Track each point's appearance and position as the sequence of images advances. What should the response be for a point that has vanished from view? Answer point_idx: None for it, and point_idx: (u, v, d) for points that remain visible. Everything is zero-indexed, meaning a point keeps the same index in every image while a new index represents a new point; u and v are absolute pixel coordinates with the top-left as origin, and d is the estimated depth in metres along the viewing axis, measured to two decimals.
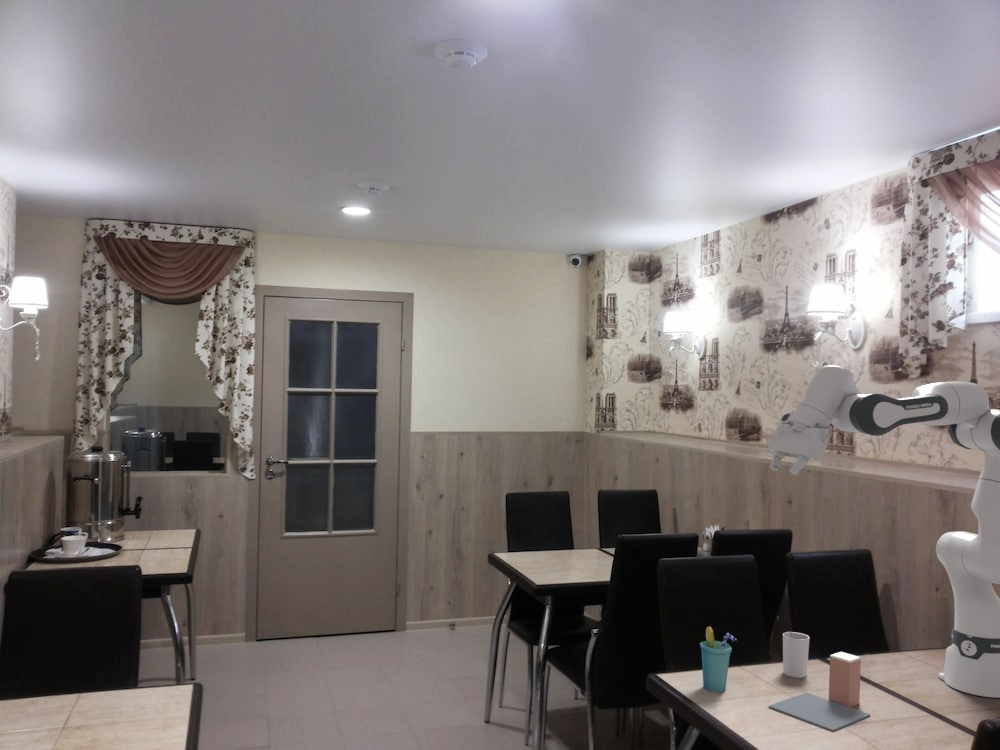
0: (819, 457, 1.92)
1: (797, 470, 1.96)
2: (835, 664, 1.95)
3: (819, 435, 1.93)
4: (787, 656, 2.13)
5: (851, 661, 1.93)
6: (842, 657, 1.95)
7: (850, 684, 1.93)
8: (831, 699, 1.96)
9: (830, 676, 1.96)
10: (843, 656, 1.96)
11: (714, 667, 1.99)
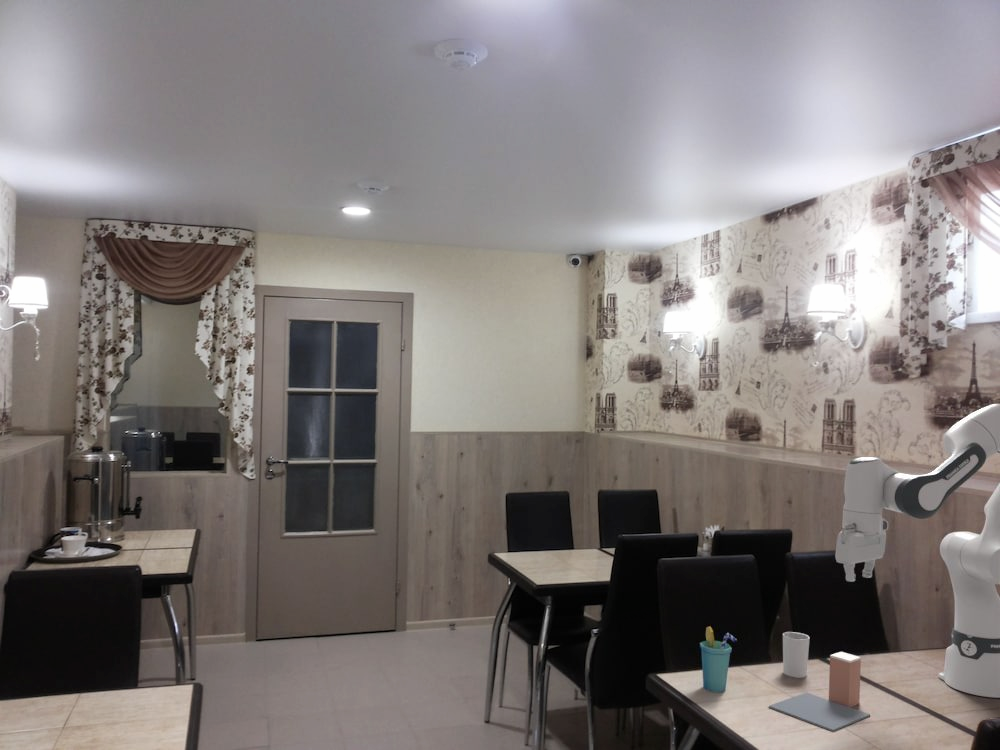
0: (846, 560, 1.93)
1: (850, 577, 1.97)
2: (835, 664, 1.95)
3: (838, 539, 1.95)
4: (787, 656, 2.13)
5: (851, 661, 1.93)
6: (842, 657, 1.95)
7: (850, 684, 1.93)
8: (831, 699, 1.96)
9: (830, 676, 1.96)
10: (843, 656, 1.96)
11: (714, 667, 1.99)
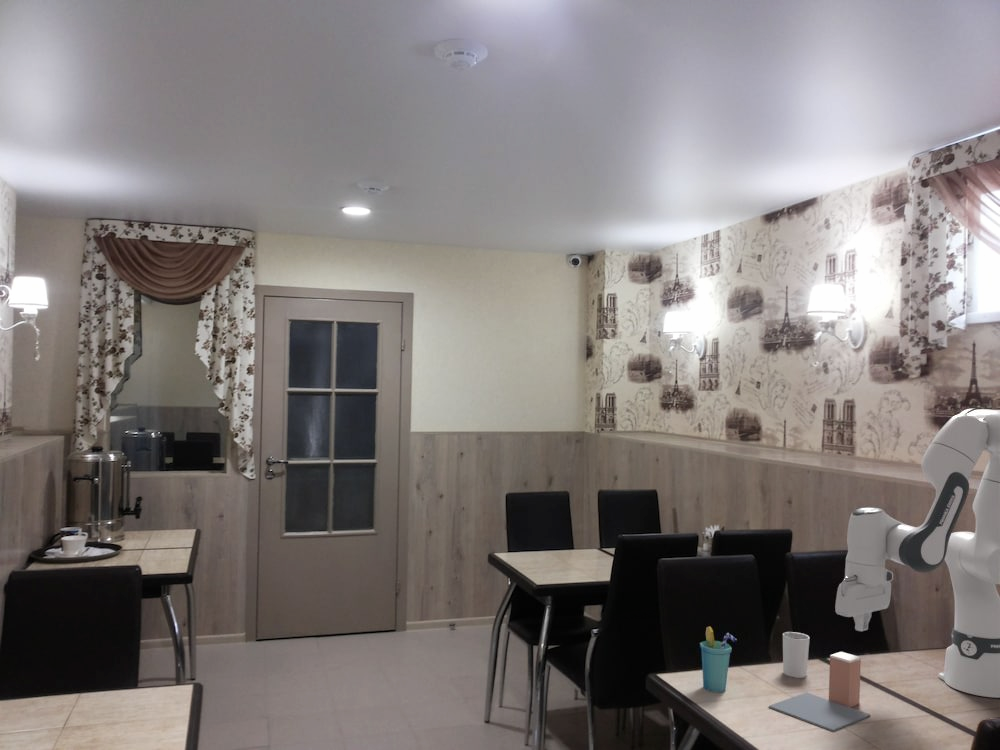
0: (846, 613, 1.94)
1: (859, 626, 2.00)
2: (835, 664, 1.95)
3: (838, 591, 1.96)
4: (787, 656, 2.13)
5: (851, 661, 1.93)
6: (842, 657, 1.95)
7: (850, 684, 1.93)
8: (831, 699, 1.96)
9: (830, 676, 1.96)
10: (843, 656, 1.96)
11: (714, 667, 1.99)
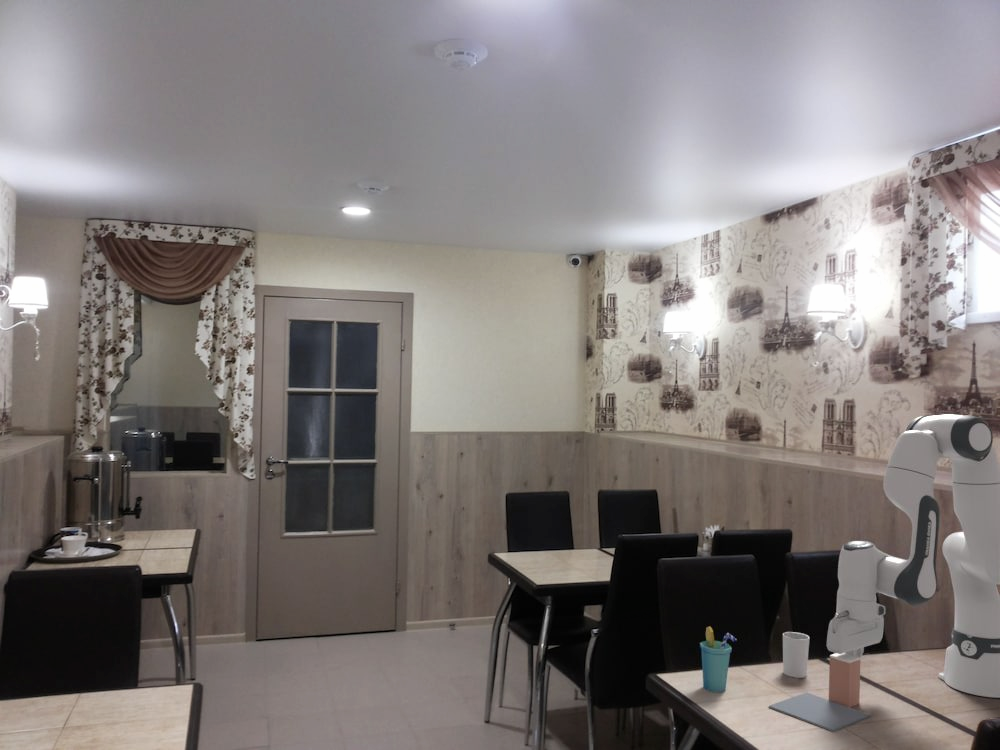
0: (837, 650, 1.92)
1: None
2: (835, 664, 1.95)
3: (829, 628, 1.94)
4: (787, 656, 2.13)
5: (851, 661, 1.93)
6: (842, 657, 1.95)
7: (850, 684, 1.93)
8: (831, 699, 1.96)
9: (830, 676, 1.96)
10: (842, 656, 1.96)
11: (714, 667, 1.99)
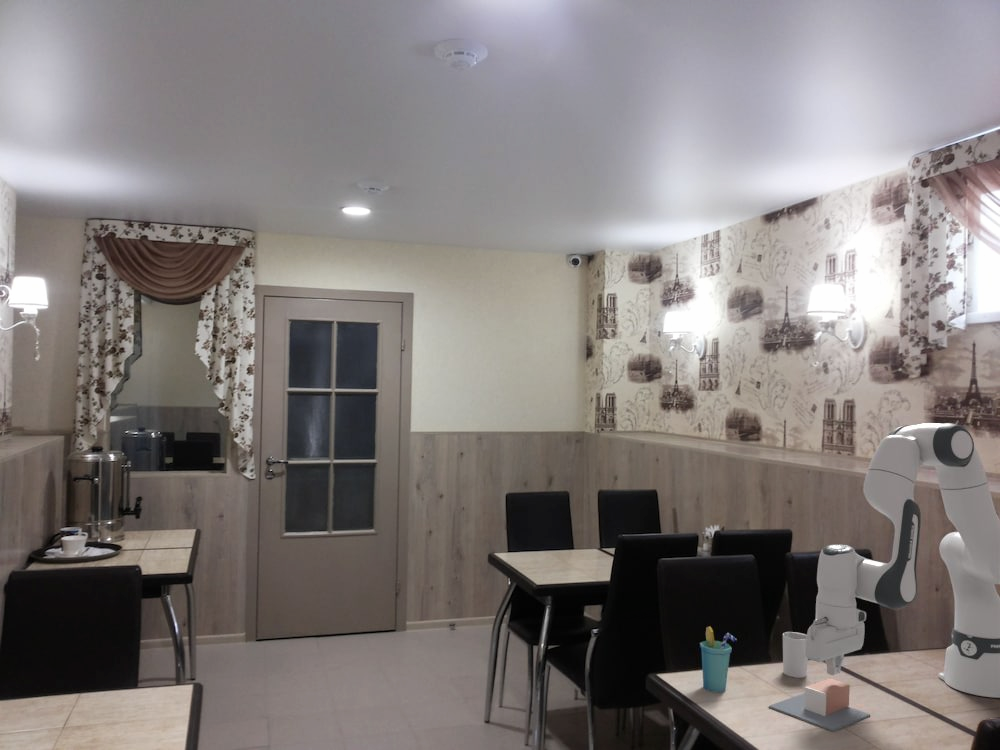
0: (816, 657, 1.86)
1: (831, 670, 1.92)
2: None
3: (808, 635, 1.88)
4: (786, 656, 2.13)
5: (825, 712, 1.86)
6: (815, 709, 1.87)
7: (837, 707, 1.89)
8: None
9: None
10: (813, 702, 1.88)
11: (714, 667, 1.99)
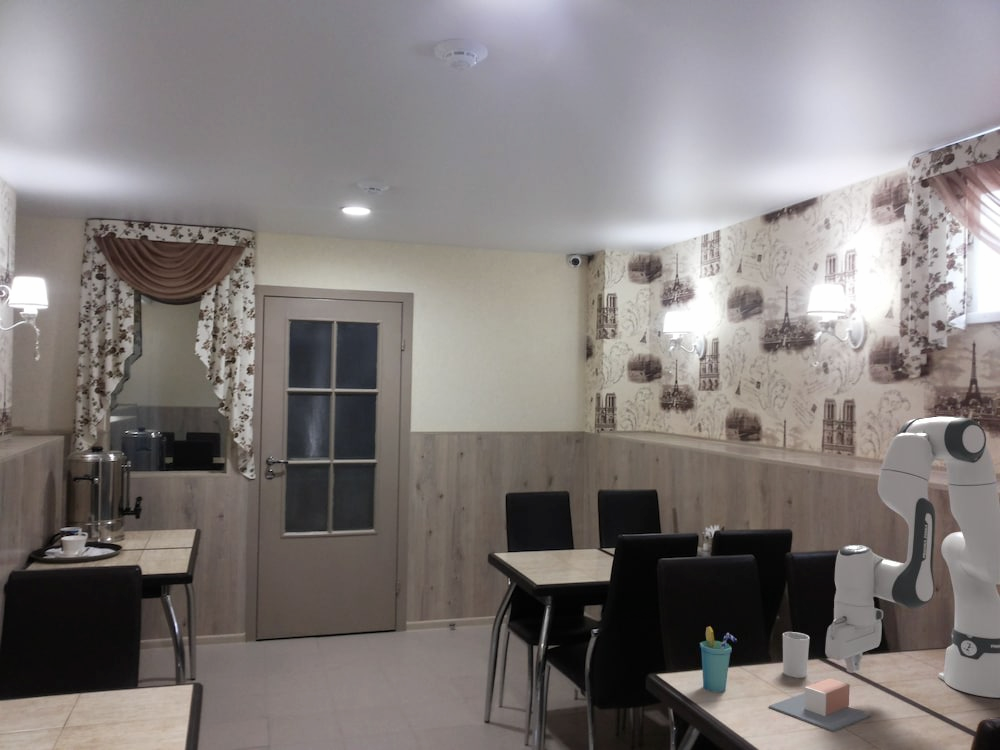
0: (836, 656, 1.90)
1: (851, 668, 1.96)
2: None
3: (828, 634, 1.92)
4: (786, 656, 2.13)
5: (825, 712, 1.86)
6: (815, 709, 1.87)
7: (837, 707, 1.89)
8: None
9: None
10: (813, 702, 1.88)
11: (714, 667, 1.99)
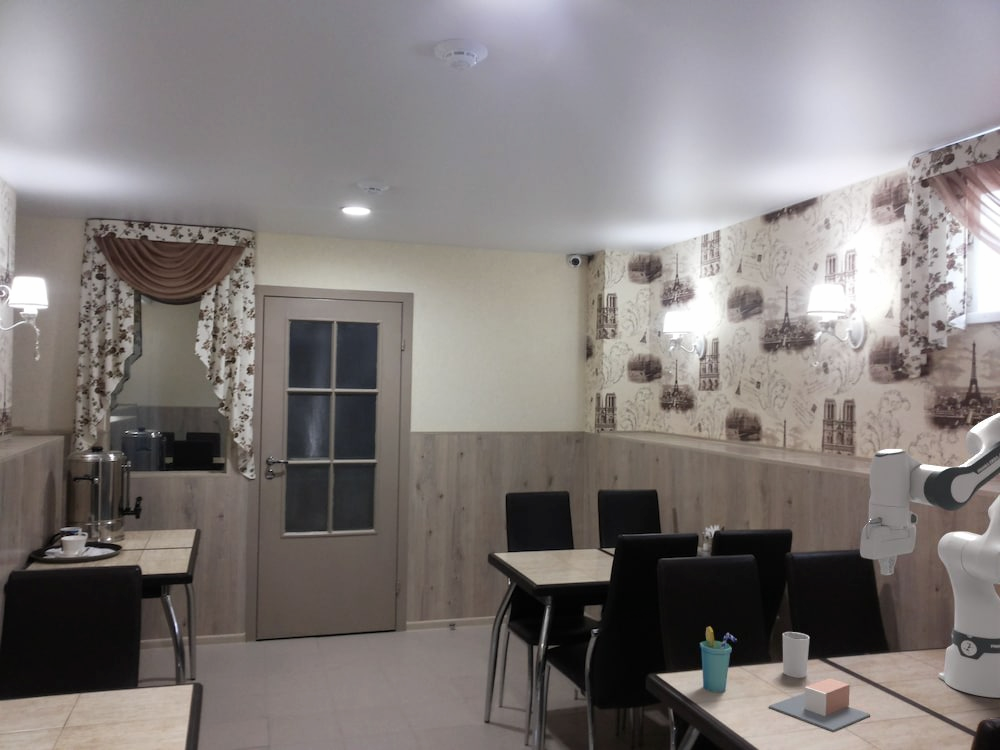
0: (871, 555, 1.89)
1: (885, 570, 1.95)
2: None
3: (863, 534, 1.91)
4: (786, 656, 2.13)
5: (825, 712, 1.86)
6: (815, 709, 1.87)
7: (837, 707, 1.89)
8: None
9: None
10: (813, 702, 1.88)
11: (714, 667, 1.99)
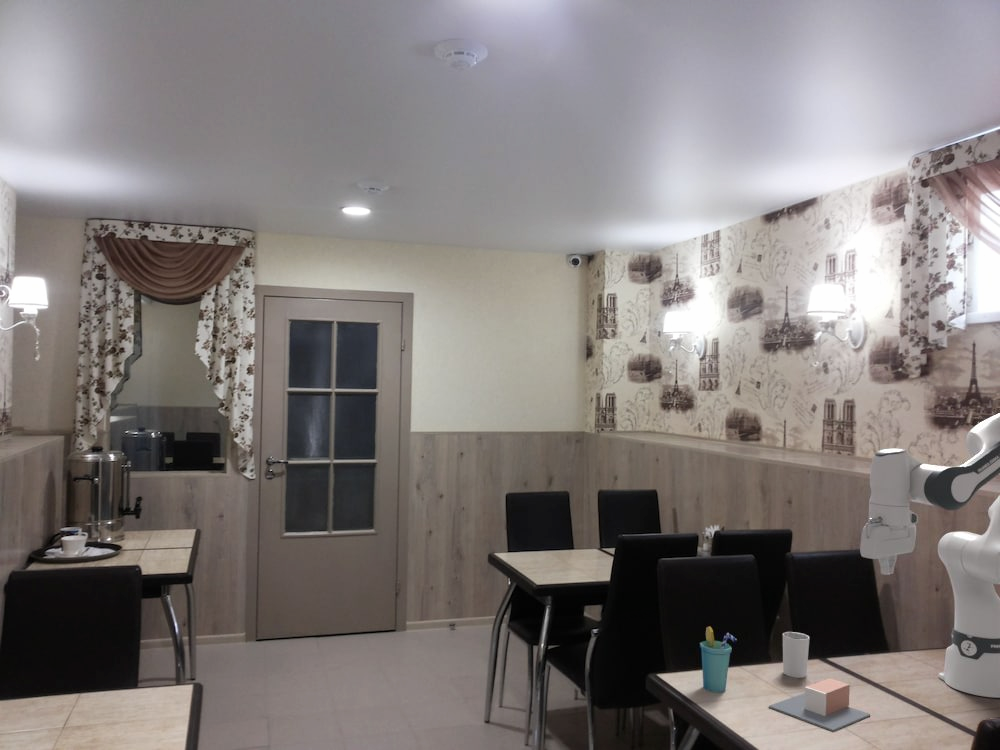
0: (871, 554, 1.89)
1: (885, 570, 1.95)
2: None
3: (863, 533, 1.91)
4: (786, 656, 2.13)
5: (825, 712, 1.86)
6: (815, 709, 1.87)
7: (837, 707, 1.89)
8: None
9: None
10: (813, 702, 1.88)
11: (714, 667, 1.99)
